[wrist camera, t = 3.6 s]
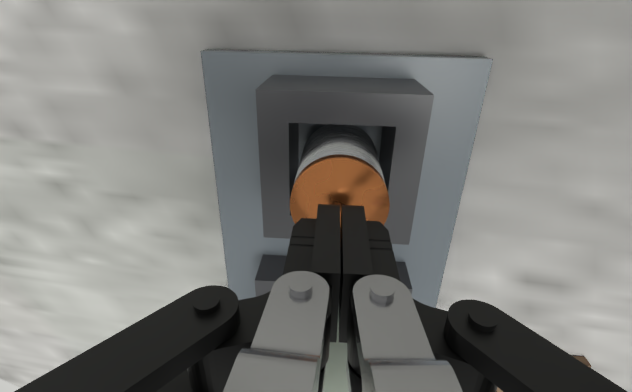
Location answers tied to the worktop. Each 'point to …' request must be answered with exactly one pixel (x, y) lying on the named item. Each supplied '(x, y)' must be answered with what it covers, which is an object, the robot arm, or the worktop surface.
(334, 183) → the plunger
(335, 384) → the cylinder
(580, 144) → the worktop surface
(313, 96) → the base
